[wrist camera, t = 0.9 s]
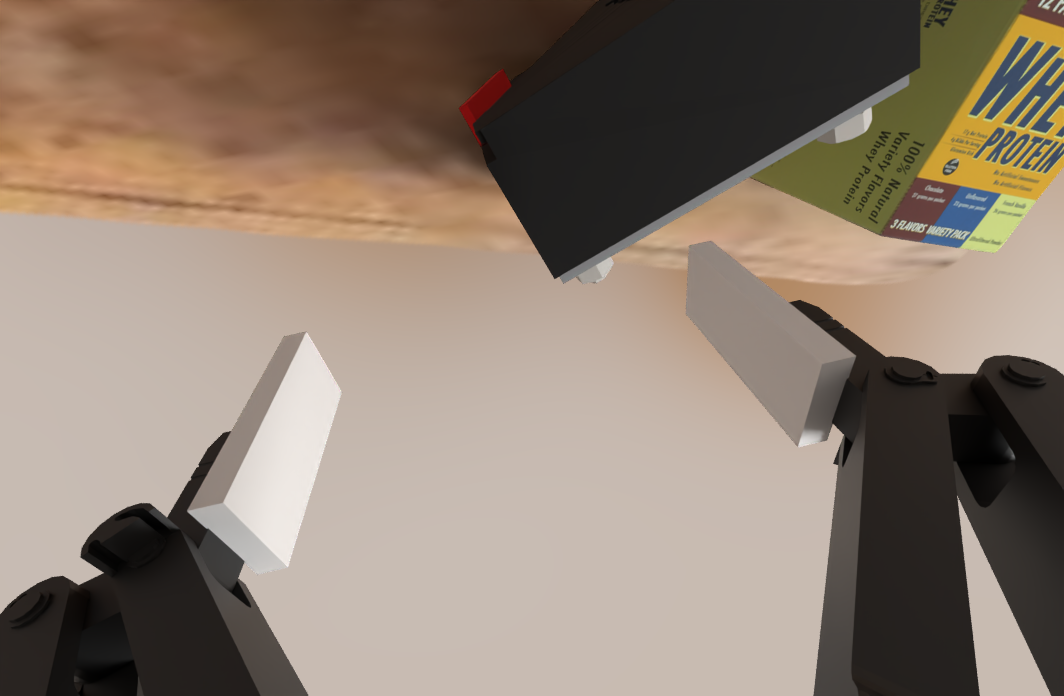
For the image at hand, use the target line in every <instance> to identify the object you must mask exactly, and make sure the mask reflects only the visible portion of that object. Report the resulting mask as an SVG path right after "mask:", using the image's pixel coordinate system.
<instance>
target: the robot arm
mask: <svg viewBox="0 0 1064 696" xmlns="http://www.w3.org/2000/svg"><path fill="white" fill-rule="evenodd" d="M686 314H687V316H688V317H689V318H690V319H691V320H692V322H693V323H694V324H695V325H696V326H697V327H698V329H699V330H700V331H701V332H702V334H703V335H704V336H705V337H706V338H707V340H708V341H709V342H710V343H711V344H712V345H713V346H714V348H715V349H716V350H717V351H718V353H719V354H720V355H721V356H722V357H723V358H724V360H725V361H726V362H727V363H728V365H730V367H731V368H732V369H733V370H734V372H735V373H736V374H737V375H738V376H739V378H740V379H741V380H742V381H743V382H744V384H745V385H746V386H747V387H748V388H749V389H750V391H751V392H752V393H753V394H754V395H755V397H756V398H757V399H758V400H759V401H760V403H761V404H762V405H763V406H764V407H765V409H766V410H767V411H768V412H769V413H770V415H771V416H772V417H773V418H774V419H775V420H776V422H777V423H778V424H779V425H780V426H781V427H782V429H783V430H784V431H785V432H786V434H787V435H788V436H789V437H790V438H791V440H792V441H793V442H794V443H795V444H796V445H797V447H801V446H805V445H810V444H814V443H818V442H822V441H826V440H827V439H828V436H829V433H830V430H831V427H832V424H834V425H835V426H836V427H837V428H838V429H839V430H840V431H841V432H842V433H843V434H844V436H843V439H842V442H841V444H840V447H839V450H838V452H837V455H836V458H835V460H834V463H833V464H836V465H838V473H837V483H836V492H835V502H834V510H833V519H832V529H831V538H830V547H829V557H828V566H827V576H826V585H825V594H824V603H823V613H822V623H821V631H820V642H819V650H818V660H817V669H816V679H815V688H814V696H980V695H979V686H978V677H977V668H976V659H975V650H974V641H973V632H972V623H971V615H970V607H969V597H968V588H967V579H966V571H965V561H964V552H963V544H962V535H961V526H960V517H959V508H958V499H957V496H958V498H959V500H960V502H961V504H962V506H963V508H964V511H965V513H966V515H967V517H968V519H969V521H970V523H971V525H972V527H973V530H974V532H975V534H976V536H977V538H978V540H979V542H980V545H981V547H982V549H983V551H984V553H985V555H986V557H987V560H988V562H989V564H990V566H991V568H992V570H993V572H994V574H995V577H996V578H997V581H998V583H999V585H1000V587H1001V589H1002V591H1003V593H1004V596H1005V598H1006V600H1007V602H1008V604H1009V606H1010V608H1011V611H1012V613H1013V615H1014V617H1015V619H1016V621H1017V623H1018V626H1019V628H1020V630H1021V632H1022V634H1023V636H1024V638H1025V640H1026V643H1027V645H1028V647H1029V649H1030V651H1031V653H1032V655H1033V657H1034V660H1035V662H1036V664H1037V666H1038V668H1039V670H1040V672H1041V675H1042V676H1043V679H1044V681H1045V683H1046V685H1047V687H1048V689H1049V691H1050V694H1051V696H1064V375H1063V374H1061V373H1060V372H1059V371H1057V370H1056V369H1054V368H1052V367H1050V366H1048V365H1046V364H1044V363H1042V362H1039V361H1036V360H1032V359H1029V358H1025V357H1017V356H1010V355H1005V356H1004V355H1003V356H993V357H990V358H988V359H985V360H984V362H983V363H982V365H981V366H980V368H979V370H978V372H977V373H976V374H939V373H938V372H937V371H936V370H934V369H933V368H932V367H930V366H928V365H926V364H924V363H922V362H920V361H917V360H912V359H909V358H904V357H885V356H883V355H882V354H881V353H880V352H878V351H877V350H876V349H874V348H873V347H872V346H870V345H869V344H868V343H866V342H865V341H863V340H862V339H861V338H859V337H858V336H857V335H855V334H854V333H853V332H851V331H850V330H849V329H847V328H844V326H843V325H842V324H840V323H839V322H838V321H837V320H833V318H832V317H831V316H830V315H829V314H827V313H826V312H824V311H823V310H822V309H820V308H819V307H817V306H814V305H812V304H809V303H806V302H804V301H801V300H798V301H793V302H787V301H786V300H785V299H784V298H782V297H781V296H780V295H779V294H777V293H776V292H775V291H774V290H772V289H771V288H770V287H769V286H767V285H766V284H765V283H764V282H762V281H761V280H760V279H758V278H757V277H756V276H755V275H753V274H752V273H751V272H750V271H748V270H747V269H746V268H745V267H743V266H742V265H741V264H740V263H738V262H737V261H736V260H735V259H733V258H732V257H731V256H730V255H728V254H727V253H726V252H724V251H723V250H722V249H721V248H719V247H718V246H717V245H716V244H714V243H713V242H712V241H707V242H703V243H698V244H694V245H689V256H688V277H687V299H686ZM341 393H342V392H341V390H340V388H339V386H338V385H337V383H336V381H335V380H334V378H333V376H332V374H331V373H330V371H329V369H328V368H327V366H326V364H325V362H324V361H323V359H322V358H321V356H320V354H319V352H318V350H317V349H316V347H315V345H314V343H313V342H312V340H311V338H310V337H309V335H308V333H307V332H302V333H298V334H294V335H289V336H284V337H283V339H282V341H281V343H280V344H279V346H278V348H277V350H276V352H275V353H274V355H273V357H272V359H271V361H270V363H269V364H268V366H267V368H266V370H265V371H264V374H263V375H262V377H261V379H260V381H259V382H258V384H257V386H256V388H255V390H254V391H253V393H252V395H251V397H250V399H249V400H248V402H247V404H246V406H245V408H244V409H243V411H242V413H241V415H240V417H239V418H238V421H237V422H236V424H235V426H234V427H233V429H232V431H229V432H225V433H223V434H222V435H221V436H220V437H219V438H218V439H217V440H216V441H215V442H214V443H213V444H212V445H211V446H210V447H209V448H208V449H207V451H206V453H205V454H204V456H203V458H202V459H201V461H200V463H199V467H197V468H196V470H195V471H194V473H193V475H192V476H191V480H190V481H189V482H188V483H187V485H186V486H185V488H184V490H183V492H182V493H181V495H180V497H179V499H178V500H177V502H176V504H175V505H174V507H173V509H172V510H171V512H170V514H169V515H168V517H165V516H164V515H163V514H162V513H161V512H159V511H158V510H157V509H156V508H155V507H153V506H152V505H151V504H150V503H140V504H136V505H133V506H130V507H127V508H125V509H123V510H121V511H120V512H118V513H116V514H114V515H113V516H111V517H110V518H109V519H107V520H106V521H105V522H103V523H102V524H101V525H100V526H99V527H98V528H97V529H96V530H95V531H94V532H93V533H92V534H91V535H90V536H89V537H88V539H87V540H86V542H85V544H84V545H83V547H82V550H81V558H82V559H84V560H85V561H87V562H88V563H90V564H92V565H93V566H94V567H96V568H98V569H99V570H101V571H102V572H104V573H103V574H101V575H99V576H97V577H95V578H93V579H91V580H89V581H87V582H85V583H82V584H80V585H77V584H76V583H74V582H73V581H71V580H69V579H68V578H66V577H64V576H59V577H51V578H49V579H47V580H44V581H42V582H40V583H37V584H36V585H35V586H33V587H31V588H30V589H28V590H27V591H25V592H23V593H22V594H21V595H19V596H18V597H17V598H16V599H14V600H13V601H12V602H11V603H10V604H9V605H8V606H7V607H6V608H5V609H4V611H3V612H2V613H1V614H0V696H308V694H307V692H306V690H305V688H304V687H303V685H302V683H301V681H300V680H299V678H298V676H297V674H296V673H295V671H294V669H293V667H292V666H291V664H290V662H289V660H288V659H287V657H286V655H285V654H284V652H283V650H282V648H281V646H280V644H279V643H278V641H277V639H276V637H275V636H274V634H273V632H272V630H271V629H270V627H269V625H268V624H267V622H266V620H265V618H264V616H263V615H262V613H261V611H260V609H259V607H258V606H257V604H256V602H255V600H254V599H253V597H252V595H251V593H250V592H249V590H248V588H247V587H246V585H245V584H244V583H243V582H242V581H241V580H240V579H238V577H239V574H240V572H241V569H242V566H243V564H244V563H245V564H246V565H247V566H249V568H251V569H252V570H253V571H254V572H255V573H256V574H262V573H266V572H270V571H275V570H279V569H283V568H287V567H288V565H289V562H290V559H291V556H292V552H293V549H294V546H295V542H296V539H297V536H298V532H299V529H300V526H301V523H302V520H303V517H304V513H305V510H306V507H307V504H308V500H309V497H310V494H311V491H312V487H313V484H314V481H315V478H316V474H317V471H318V468H319V464H320V461H321V458H322V455H323V451H324V448H325V445H326V442H327V438H328V435H329V432H330V428H331V425H332V422H333V419H334V416H335V412H336V409H337V406H338V402H339V399H340V396H341Z"/></svg>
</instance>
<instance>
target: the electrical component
mask: <svg viewBox="0 0 1064 696" xmlns="http://www.w3.org/2000/svg"><path fill="white" fill-rule="evenodd" d="M920 24H921V0H599V1H598V2H597V3H596V4H595V5H594V6H593V7H592V8H591V9H590V10H589V11H588V12H586V13H585V14H584V15H583V16H582V17H581V18H580V19H579V20H578V21H577V22H576V23H575V24H574V25H573V26H572V27H571V28H570V29H569V30H568V31H567V32H566V33H565V34H564V35H563V36H562V37H561V38H560V39H559V40H558V41H557V42H556V43H555V44H554V45H553V46H552V47H551V48H550V49H549V50H548V51H547V52H546V53H545V54H544V55H543V56H542V57H541V58H540V59H539V60H538V61H536V62H535V63H534V64H533V65H532V66H531V67H530V68H529V69H527V70H526V71H524V72H523V73H521V74H520V75H518V76H517V77H516V78H514V79H513V80H511V81H509V79H508V77H507V76H506V74H505V72H504V70H503V69H502V70H500V71H498V72H497V73H495V74H494V75H493V76H492V77H491V78H490V79H489V80H488V81H487V82H486V83H485V84H484V85H483V86H482V87H481V88H480V89H478V90H477V91H476V92H475V93H474V94H473V95H472V96H471V97H470V98H469V99H468V100H467V101H466V102H465V103H464V104H463V105H462V106H460V107H459V109H460V111H461V113H462V115H463V116H464V118H465V120H466V122H467V123H468V125H469V127H470V129H471V130H472V132H473V134H474V136H475V137H476V139H477V141H478V143H479V144H480V146H481V147H482V151H483V154H484V158H485V161H486V164H487V167H488V168H489V170H490V172H491V173H492V175H493V177H494V178H495V180H496V182H497V183H498V185H499V187H500V188H501V190H502V192H503V193H504V195H505V197H506V198H507V200H508V202H509V203H510V205H511V207H512V208H513V210H514V212H515V214H516V215H517V217H518V219H519V220H520V222H521V224H522V225H523V227H524V229H525V230H526V232H527V234H528V235H529V237H530V239H531V240H532V242H533V244H534V245H535V247H536V249H537V250H538V252H539V254H540V255H541V257H542V259H543V260H544V262H545V264H546V265H547V267H548V269H549V270H550V272H551V274H552V275H553V277H554V279H556V278H557V277H560V279H561V280H562V282H563V284H564V283H566V282H567V281H569V280H571V279H573V278H574V277H576V278H578V280H579V281H580V282H581V283H582V284H584V283H598V282H599V281H601V280H602V279H604V278H605V277H606V275H607V273H608V272H609V271H610V269H611V267H612V266H613V264H614V262H613V260H612V258H611V256H613V255H614V254H616V253H618V252H620V251H621V250H623V249H625V248H627V247H628V246H630V245H632V244H634V243H635V242H637V241H639V240H641V239H642V238H644V237H646V236H648V235H649V234H651V233H653V232H654V231H656V230H658V229H660V228H661V227H663V226H665V225H667V224H668V223H670V222H672V221H674V220H675V219H677V218H679V217H681V216H682V215H684V214H686V213H688V212H689V211H691V210H693V209H695V208H696V207H698V206H700V205H701V204H703V203H705V202H707V201H708V200H710V199H712V198H714V197H715V196H717V195H719V194H721V193H722V192H724V191H726V190H728V189H729V188H731V187H733V186H735V185H736V184H738V183H740V182H742V181H743V180H745V179H747V178H748V177H750V176H752V175H754V174H755V173H757V172H759V171H761V170H762V169H764V168H766V167H768V166H769V165H771V164H773V163H775V162H776V161H778V160H780V159H782V158H783V157H785V156H787V155H789V154H790V153H792V152H794V151H795V150H797V149H799V148H801V147H802V146H804V145H806V144H808V143H809V142H811V141H813V140H815V139H816V138H817V141H820V142H824V143H828V144H835V143H840V142H843V141H847V140H851V139H853V138H855V137H857V136H859V135H861V134H863V133H865V132H866V131H867V130H868V128H869V126H870V123H871V121H872V108H871V107H872V106H874V105H876V104H877V103H879V102H881V101H883V100H884V99H886V98H888V97H889V96H891V95H893V94H895V93H896V92H898V91H900V90H902V89H903V88H905V87H907V86H909V74H910V73H912V72H914V71H915V70H917V69H919V68H920Z"/></svg>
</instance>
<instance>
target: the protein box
mask: <svg viewBox="0 0 1064 696" xmlns="http://www.w3.org/2000/svg"><path fill="white" fill-rule="evenodd" d="M871 108H872V121H871V123H870V126H869V128H868V130H867V131H866V132H865V133H863V134H861V135H859V136H857V137H855V138H853V139H851V140H847V141H843V142H840V143H835V144H828V143H824V142H820V141H817V138H816V139H815V140H813V141H811V142H809V143H808V144H806V145H804V146H802V147H801V148H799V149H797V150H795V151H794V152H792V153H790V154H789V155H787V156H785V157H783V158H782V159H780V160H778V161H776V162H775V163H773V164H771V165H769V166H768V167H766V168H764V169H762V170H761V171H759V172H757V173H755V174H754V175H752V176H750V178H752V179H754V180H757V181H759V182H761V183H763V184H765V185H768V186H770V187H772V188H775V189H777V190H779V191H782V192H784V193H786V194H789V195H791V196H793V197H795V198H798V199H800V200H802V201H805V202H807V203H809V204H811V205H814V206H816V207H818V208H820V209H822V210H825V211H827V212H829V213H831V214H834V215H836V216H838V217H840V218H843V219H845V220H847V221H849V222H851V223H854V224H856V225H858V226H860V227H863V228H865V229H867V230H869V231H871V232H874V233H876V234H878V235H880V236H884V237H890V238H896V239H902V240H909V241H915V242H922V243H929V244H936V245H942V246H949V247H955V248H962V249H968V250H975V251H982V252H992V253H995V252H997V251H998V250H999V249H1000V248H1001V246H1002V245H1003V244H1004V243H1005V241H1006V240H1007V239H1008V238H1009V236H1010V235H1011V234H1012V232H1013V231H1014V229H1015V228H1016V227H1017V225H1018V224H1019V223H1020V222H1021V220H1022V219H1023V218H1024V216H1025V215H1026V214H1027V212H1028V211H1029V210H1030V208H1031V207H1032V205H1033V204H1034V203H1035V202H1036V200H1037V199H1038V198H1039V197H1040V196H1041V194H1042V193H1043V192H1044V191H1045V189H1046V188H1047V187H1048V186H1049V184H1050V183H1051V182H1052V181H1053V179H1054V178H1055V177H1056V176H1057V174H1058V173H1059V172H1060V170H1062V168H1063V167H1064V0H921V24H920V68H919V69H917V70H915V71H914V72H912V73H910V74H909V86H907V87H905V88H903V89H902V90H900V91H898V92H896V93H895V94H893V95H891V96H889V97H888V98H886V99H884V100H883V101H881V102H879V103H877V104H876V105H874V106H872V107H871Z"/></svg>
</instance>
